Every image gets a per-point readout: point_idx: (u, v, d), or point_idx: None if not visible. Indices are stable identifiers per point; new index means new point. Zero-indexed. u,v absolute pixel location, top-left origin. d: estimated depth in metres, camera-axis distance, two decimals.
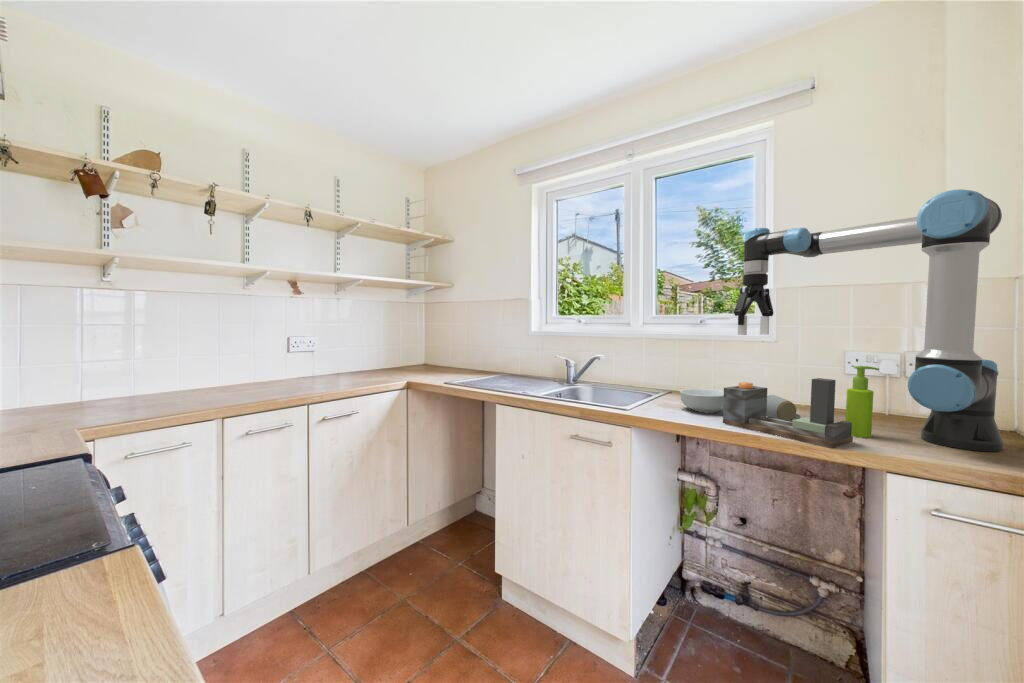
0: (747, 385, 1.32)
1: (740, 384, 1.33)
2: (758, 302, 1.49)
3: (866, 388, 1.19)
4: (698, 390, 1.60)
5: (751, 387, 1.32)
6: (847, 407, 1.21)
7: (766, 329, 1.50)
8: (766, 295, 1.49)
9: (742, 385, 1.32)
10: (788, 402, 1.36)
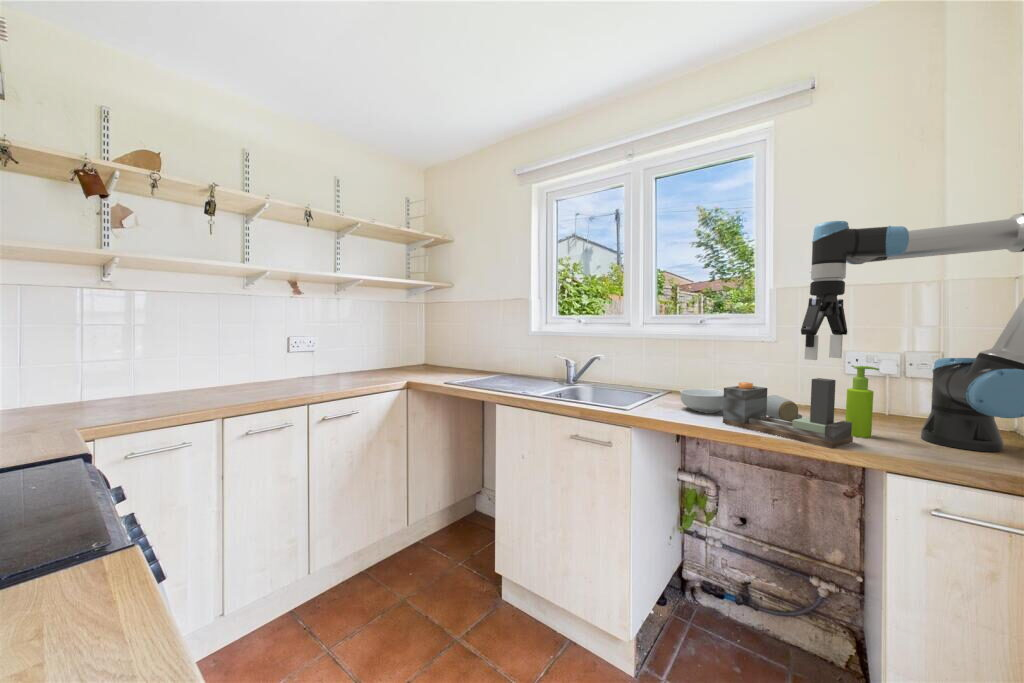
0: (747, 385, 1.32)
1: (740, 384, 1.33)
2: (829, 317, 1.16)
3: (866, 388, 1.19)
4: (698, 390, 1.60)
5: (751, 387, 1.32)
6: (847, 407, 1.21)
7: (838, 351, 1.17)
8: (839, 308, 1.16)
9: (742, 385, 1.32)
10: (790, 402, 1.36)
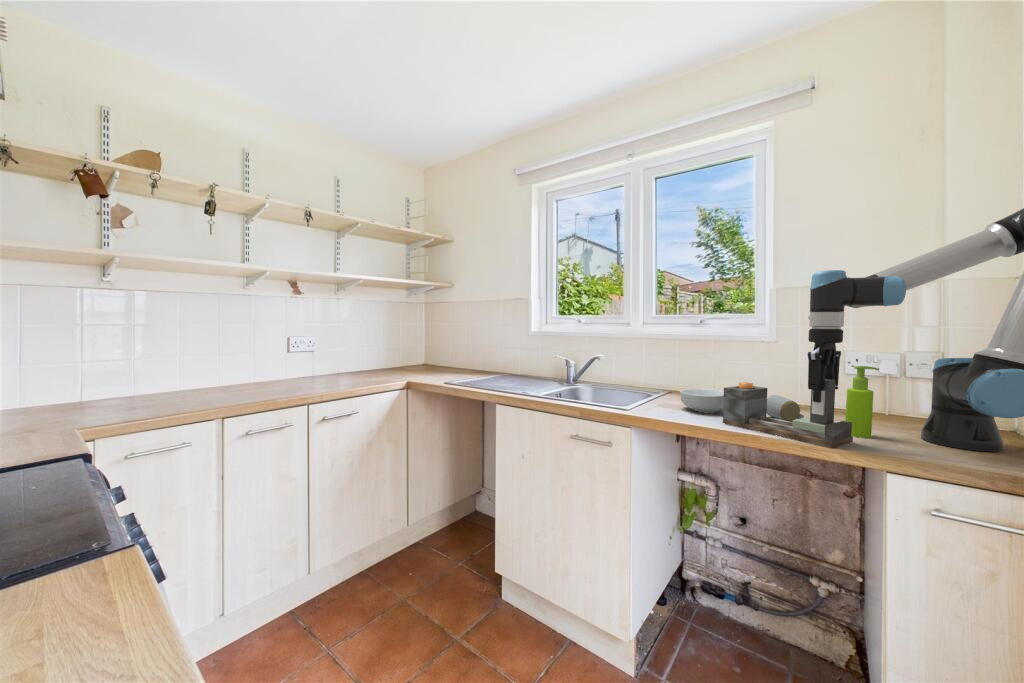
0: (747, 385, 1.32)
1: (740, 384, 1.33)
2: None
3: (866, 388, 1.19)
4: (698, 390, 1.60)
5: (751, 387, 1.32)
6: (847, 407, 1.21)
7: None
8: (836, 358, 1.16)
9: (742, 385, 1.32)
10: (792, 402, 1.36)
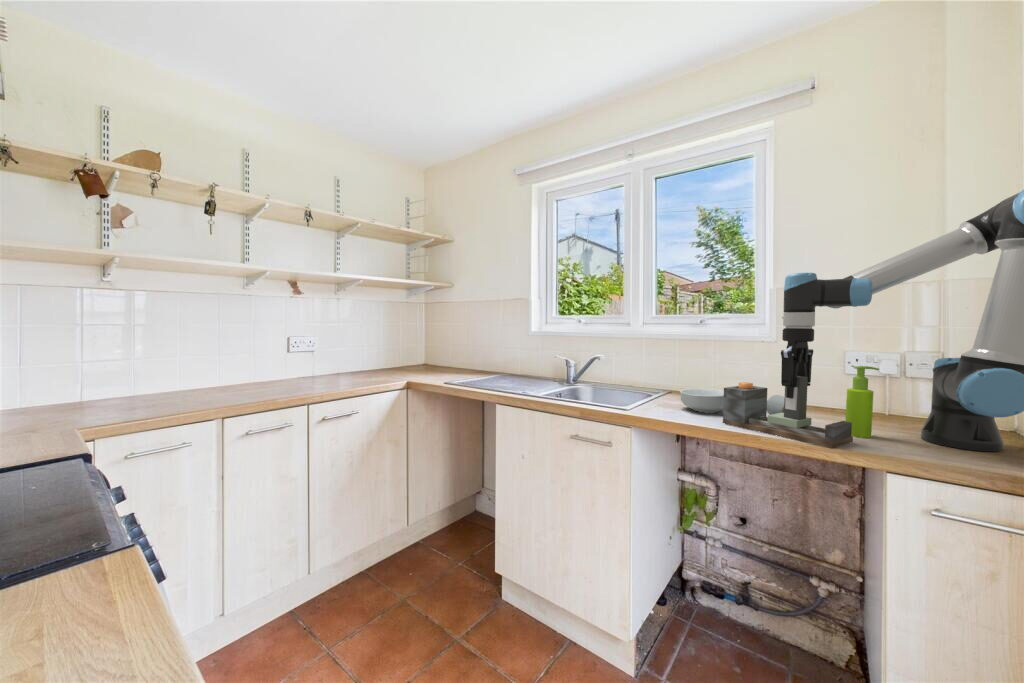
0: (747, 385, 1.32)
1: (740, 384, 1.33)
2: None
3: (866, 388, 1.19)
4: (698, 390, 1.60)
5: (751, 387, 1.32)
6: (847, 407, 1.21)
7: None
8: (808, 356, 1.22)
9: (742, 385, 1.32)
10: None
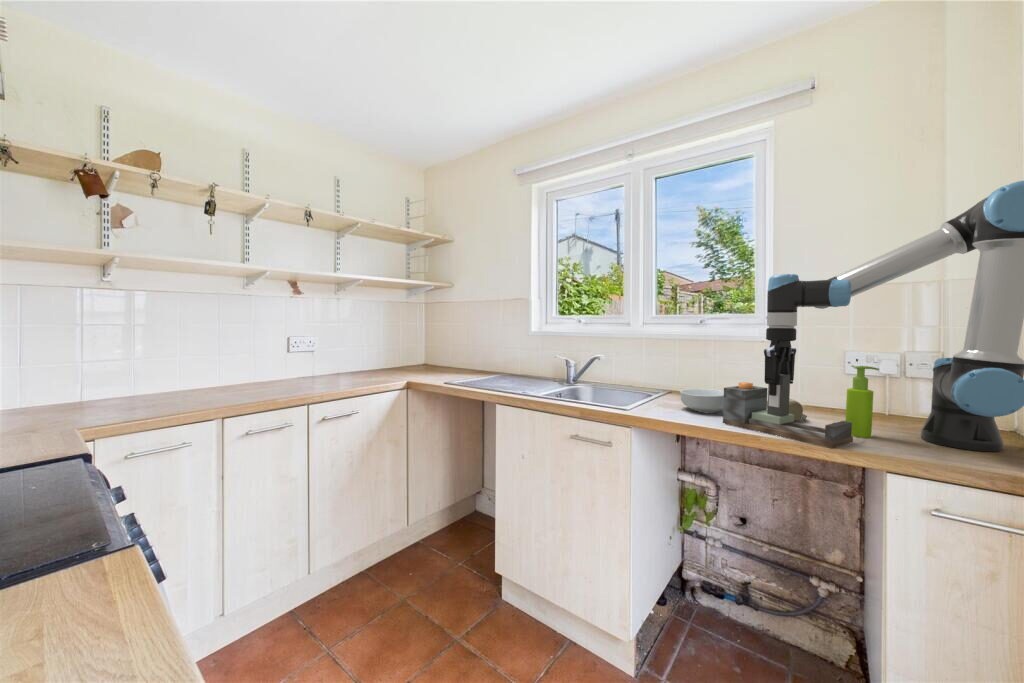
0: (747, 385, 1.32)
1: (740, 384, 1.33)
2: None
3: (866, 388, 1.19)
4: (698, 390, 1.60)
5: (751, 387, 1.32)
6: (847, 407, 1.21)
7: None
8: (791, 355, 1.26)
9: (742, 385, 1.32)
10: (795, 402, 1.36)
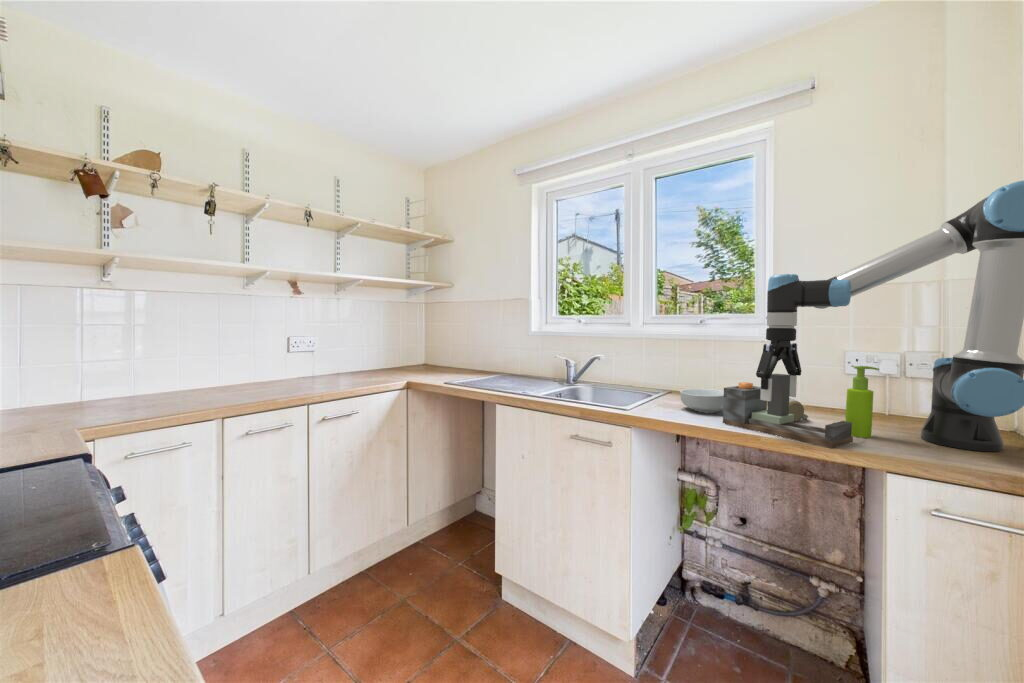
0: (747, 385, 1.32)
1: (740, 384, 1.33)
2: (784, 359, 1.27)
3: (866, 388, 1.19)
4: (698, 390, 1.60)
5: (751, 387, 1.32)
6: (847, 407, 1.21)
7: (793, 391, 1.27)
8: (793, 351, 1.27)
9: (742, 385, 1.32)
10: (796, 402, 1.36)
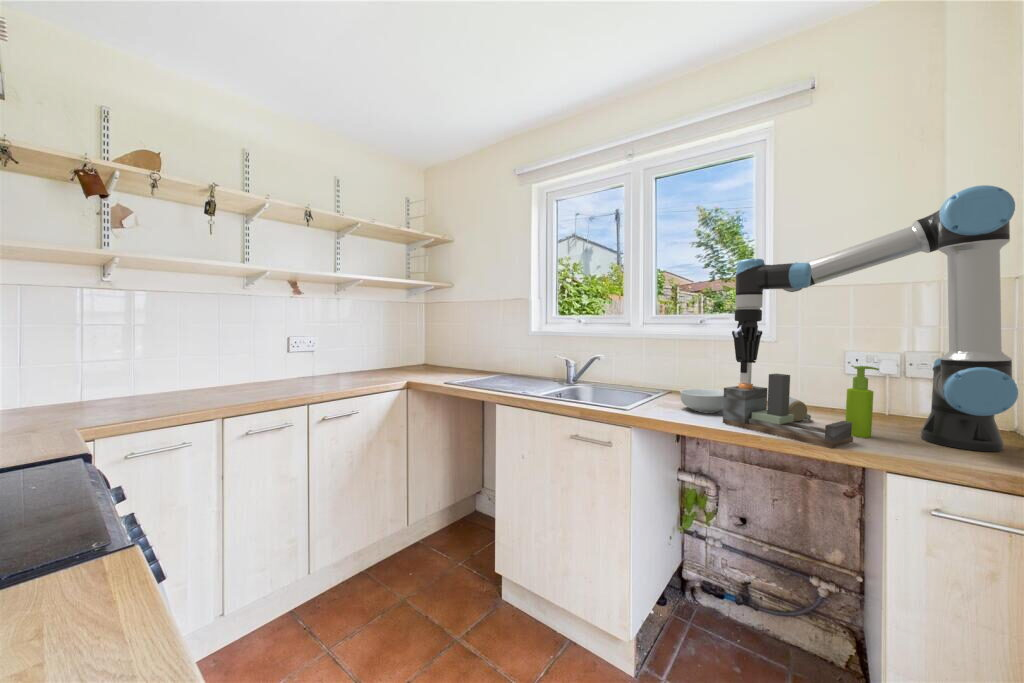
0: (747, 386, 1.32)
1: (740, 385, 1.33)
2: None
3: (866, 388, 1.19)
4: (698, 390, 1.60)
5: (751, 388, 1.32)
6: (847, 407, 1.21)
7: None
8: (757, 336, 1.34)
9: (742, 386, 1.32)
10: (799, 402, 1.36)
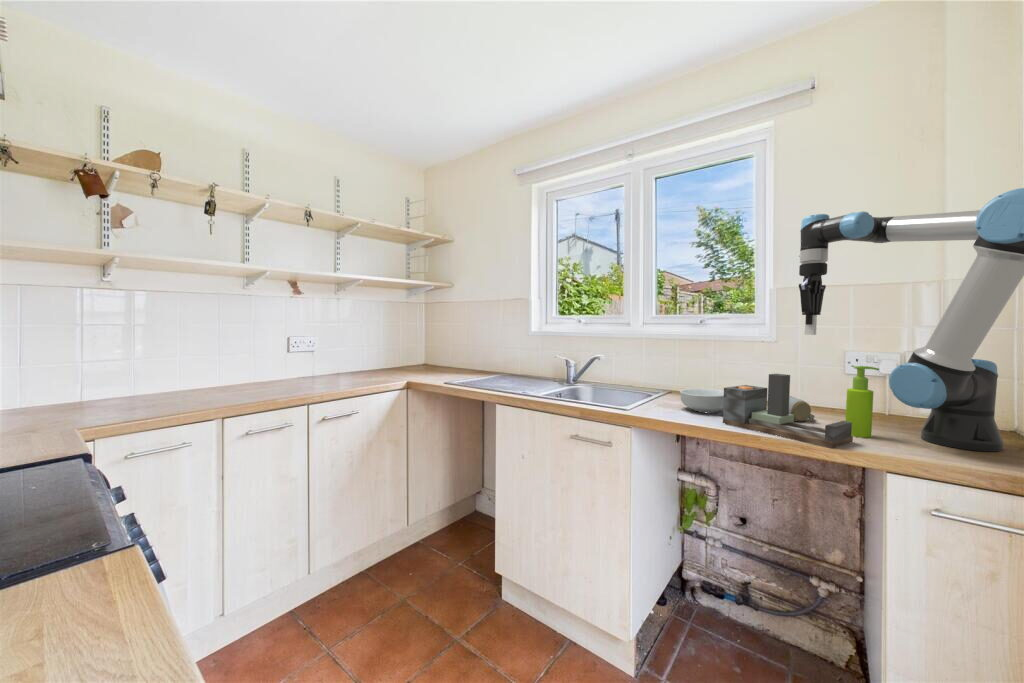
0: None
1: None
2: None
3: (866, 388, 1.19)
4: (698, 390, 1.60)
5: None
6: (847, 407, 1.21)
7: None
8: (821, 290, 1.40)
9: None
10: (803, 402, 1.36)
